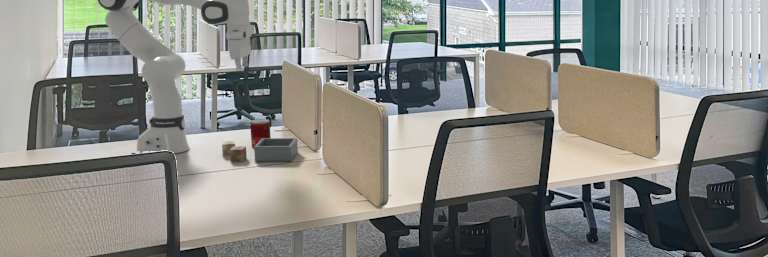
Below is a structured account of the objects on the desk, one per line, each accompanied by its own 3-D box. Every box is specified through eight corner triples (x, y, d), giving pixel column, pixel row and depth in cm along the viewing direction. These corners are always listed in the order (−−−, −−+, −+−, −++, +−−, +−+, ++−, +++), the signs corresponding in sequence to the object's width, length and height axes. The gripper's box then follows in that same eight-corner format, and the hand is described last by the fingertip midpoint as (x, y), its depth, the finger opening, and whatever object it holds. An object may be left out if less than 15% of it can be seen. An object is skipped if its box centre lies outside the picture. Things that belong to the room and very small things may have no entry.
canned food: (267, 149, 292) (265, 122, 289) (248, 148, 293) (247, 122, 291) (273, 144, 299) (272, 118, 297) (255, 144, 301) (254, 118, 298)
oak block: (222, 156, 281) (221, 144, 280) (222, 153, 286) (222, 141, 285) (235, 156, 282) (235, 143, 281) (235, 153, 287) (234, 140, 286)
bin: (255, 162, 272) (254, 146, 270) (262, 153, 285) (262, 138, 284) (291, 161, 271) (291, 146, 270) (297, 152, 285) (297, 138, 283)
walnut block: (230, 162, 273) (229, 149, 272) (233, 159, 278) (233, 146, 277) (243, 162, 272) (242, 149, 271) (246, 158, 277) (245, 146, 276)
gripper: (237, 30, 286) (240, 65, 289) (224, 35, 266) (227, 72, 269) (253, 30, 285) (256, 64, 288) (241, 34, 265) (244, 71, 268)
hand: (242, 68), depth 278 cm, fingers open, 8 cm apart
